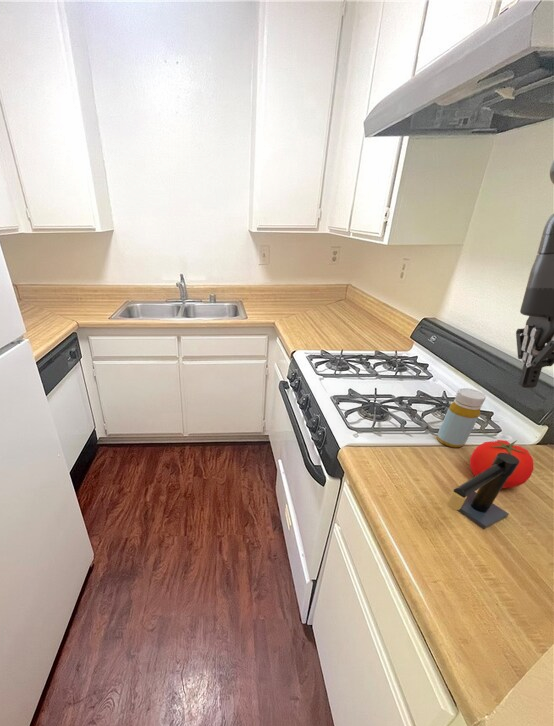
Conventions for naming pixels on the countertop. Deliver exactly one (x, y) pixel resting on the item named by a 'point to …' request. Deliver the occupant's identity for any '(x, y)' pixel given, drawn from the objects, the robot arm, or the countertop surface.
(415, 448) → the countertop surface
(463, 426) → the bottle
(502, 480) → the faucet base
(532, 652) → the countertop surface
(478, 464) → the tomato
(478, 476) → the spout
